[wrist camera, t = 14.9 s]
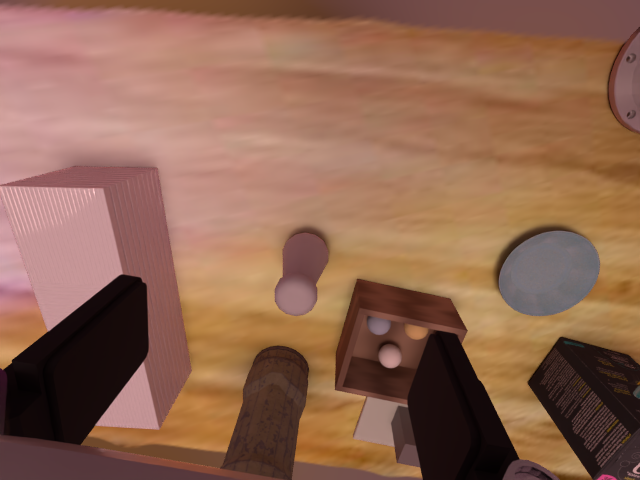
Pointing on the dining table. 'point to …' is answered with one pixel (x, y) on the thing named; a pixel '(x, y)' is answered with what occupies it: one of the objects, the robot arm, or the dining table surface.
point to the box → (388, 338)
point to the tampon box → (594, 406)
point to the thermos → (270, 415)
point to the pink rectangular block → (105, 267)
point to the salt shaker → (301, 273)
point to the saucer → (549, 273)
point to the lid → (388, 428)
